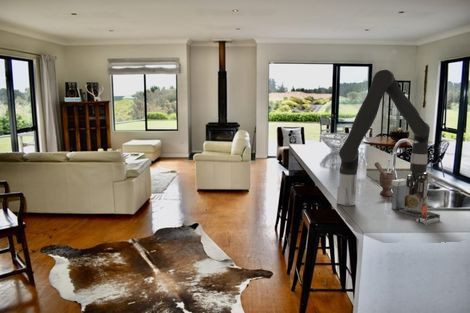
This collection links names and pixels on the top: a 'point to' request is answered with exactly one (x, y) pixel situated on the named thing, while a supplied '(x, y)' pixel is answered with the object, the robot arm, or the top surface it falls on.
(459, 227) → the top surface
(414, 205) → the coffee box
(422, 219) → the lever
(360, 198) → the top surface
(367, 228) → the top surface
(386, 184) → the mortar and pestle
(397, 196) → the press
